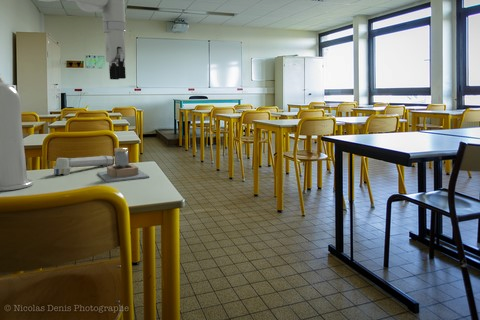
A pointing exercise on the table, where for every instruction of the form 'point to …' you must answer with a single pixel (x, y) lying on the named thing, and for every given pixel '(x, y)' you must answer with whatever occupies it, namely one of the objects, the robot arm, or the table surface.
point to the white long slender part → (80, 163)
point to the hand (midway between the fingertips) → (117, 78)
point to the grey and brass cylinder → (121, 158)
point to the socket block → (122, 174)
